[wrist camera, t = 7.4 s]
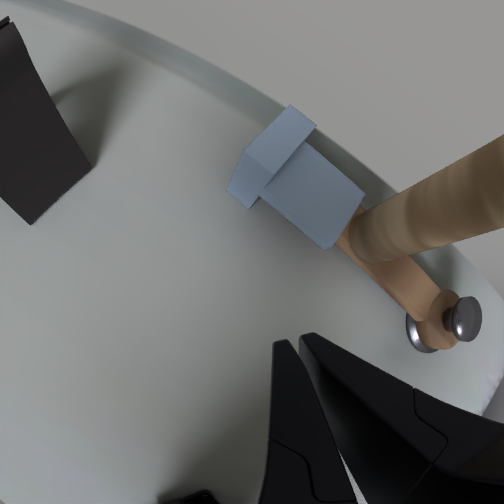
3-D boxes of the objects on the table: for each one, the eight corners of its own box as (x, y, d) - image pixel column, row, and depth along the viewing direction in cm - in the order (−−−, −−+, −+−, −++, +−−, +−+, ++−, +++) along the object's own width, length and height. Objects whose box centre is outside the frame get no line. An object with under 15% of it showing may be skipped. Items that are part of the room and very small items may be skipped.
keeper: (337, 211, 24) (382, 183, 18) (306, 257, 22) (349, 239, 17) (263, 149, 23) (290, 104, 17) (225, 191, 22) (243, 150, 16)
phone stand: (93, 170, 20) (38, 53, 9) (31, 227, 18) (-71, 153, 7) (41, 101, 20) (-6, -4, 8) (-13, 149, 18) (-86, 63, 7)
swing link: (459, 312, 24) (595, 298, 10) (437, 358, 23) (584, 366, 9) (318, 169, 23) (446, 46, 9) (282, 214, 22) (420, 90, 8)
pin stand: (455, 329, 25) (494, 328, 20) (418, 365, 23) (459, 371, 18) (436, 276, 25) (476, 268, 20) (396, 308, 23) (438, 306, 19)
